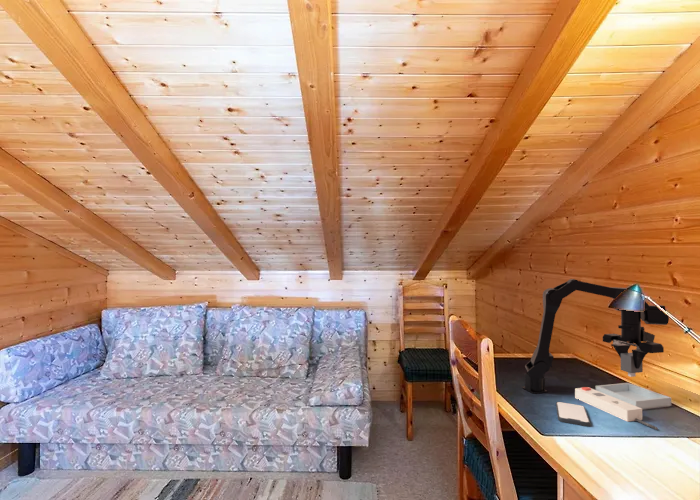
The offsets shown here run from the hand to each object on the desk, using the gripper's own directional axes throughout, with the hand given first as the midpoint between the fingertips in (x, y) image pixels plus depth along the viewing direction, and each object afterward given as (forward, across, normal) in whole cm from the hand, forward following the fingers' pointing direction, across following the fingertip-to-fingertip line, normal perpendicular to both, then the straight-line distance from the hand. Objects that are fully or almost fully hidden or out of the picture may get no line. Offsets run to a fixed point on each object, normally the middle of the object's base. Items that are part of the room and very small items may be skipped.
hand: (631, 366), depth 135 cm
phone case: (+13, -5, +31) cm, 34 cm away
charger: (+3, 0, 0) cm, 3 cm away
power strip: (+12, -7, +15) cm, 20 cm away
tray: (+12, +1, -1) cm, 12 cm away
